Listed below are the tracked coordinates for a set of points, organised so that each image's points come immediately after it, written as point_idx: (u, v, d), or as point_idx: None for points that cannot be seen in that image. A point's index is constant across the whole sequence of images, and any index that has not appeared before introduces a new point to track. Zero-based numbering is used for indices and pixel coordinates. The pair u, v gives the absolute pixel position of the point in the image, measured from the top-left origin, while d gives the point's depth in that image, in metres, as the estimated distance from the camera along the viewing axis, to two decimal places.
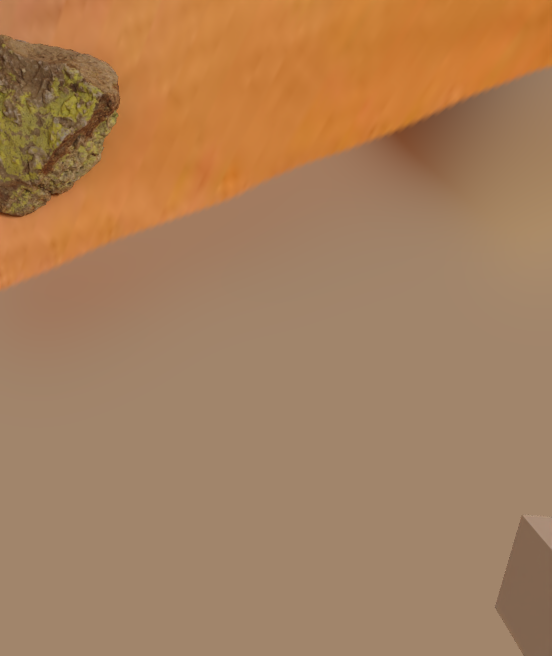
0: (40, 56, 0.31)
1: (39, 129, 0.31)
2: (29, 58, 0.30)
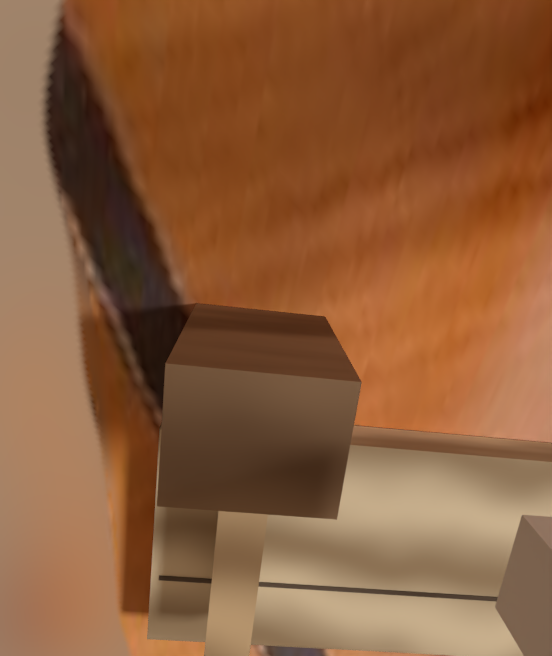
0: None
1: None
2: None
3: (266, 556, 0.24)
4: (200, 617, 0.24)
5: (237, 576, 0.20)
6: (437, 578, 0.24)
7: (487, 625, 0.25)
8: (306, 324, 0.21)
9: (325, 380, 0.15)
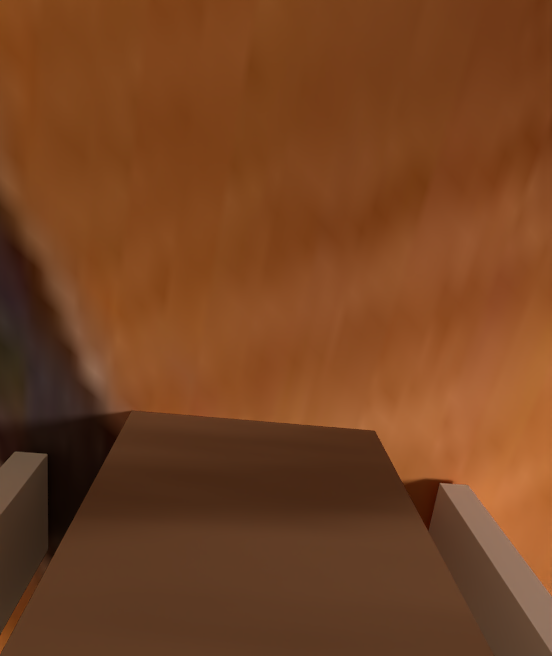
0: None
1: None
2: None
3: None
4: None
5: None
6: None
7: None
8: (346, 465, 0.10)
9: None
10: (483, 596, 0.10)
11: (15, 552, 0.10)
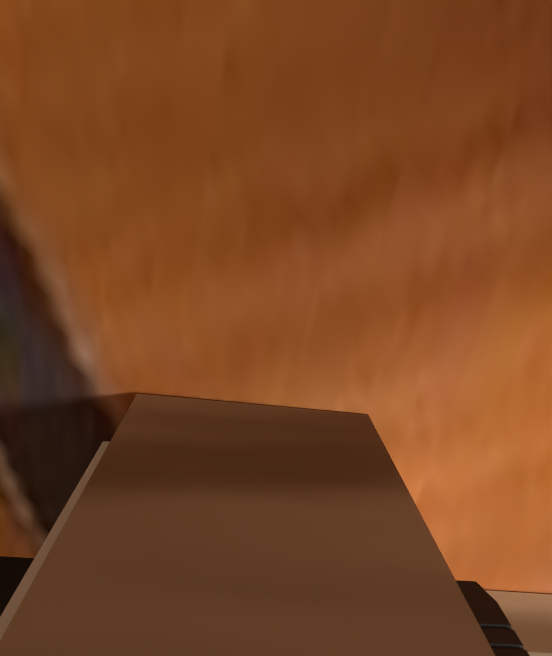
0: None
1: None
2: None
3: None
4: None
5: None
6: None
7: None
8: (340, 445, 0.11)
9: None
10: None
11: None
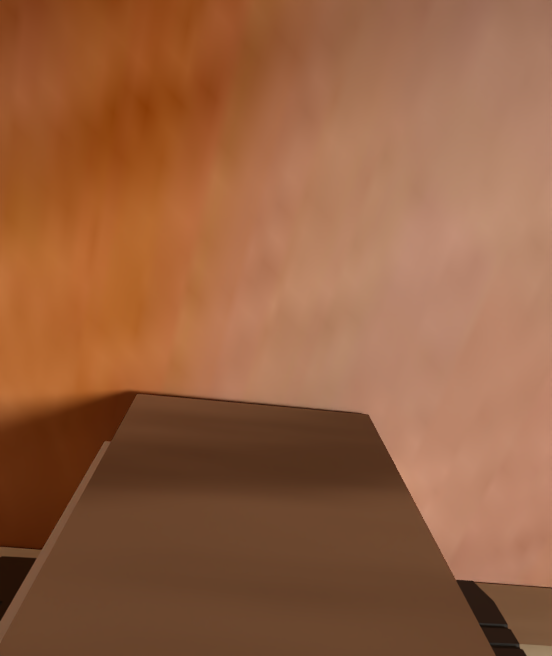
0: None
1: None
2: None
3: None
4: None
5: None
6: None
7: None
8: (340, 445, 0.11)
9: None
10: None
11: None
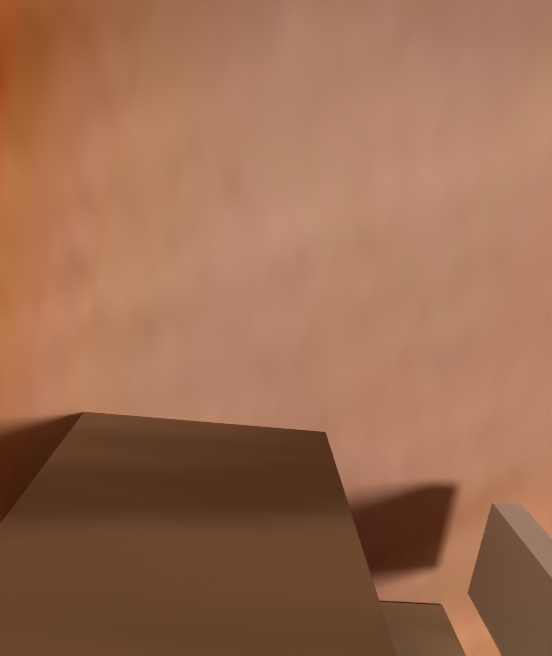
0: None
1: None
2: None
3: None
4: None
5: None
6: None
7: None
8: (289, 466, 0.11)
9: None
10: None
11: None
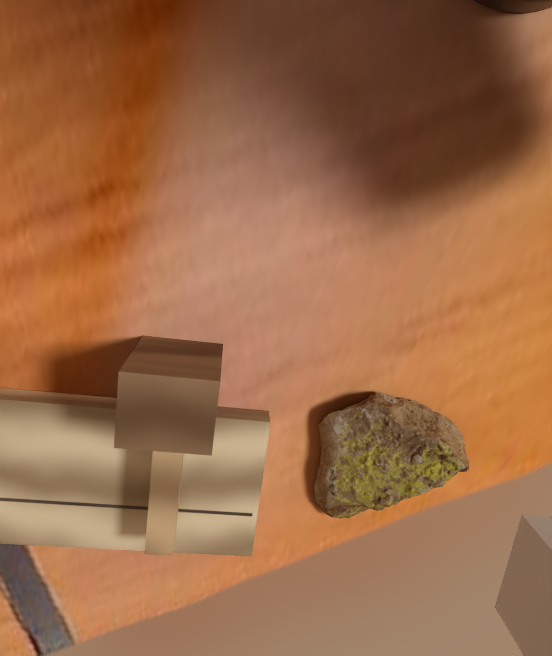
0: (412, 421, 0.37)
1: (400, 479, 0.38)
2: (408, 427, 0.37)
3: None
4: None
5: (163, 499, 0.34)
6: (80, 492, 0.37)
7: (123, 526, 0.38)
8: (207, 349, 0.35)
9: (201, 380, 0.29)
10: None
11: None
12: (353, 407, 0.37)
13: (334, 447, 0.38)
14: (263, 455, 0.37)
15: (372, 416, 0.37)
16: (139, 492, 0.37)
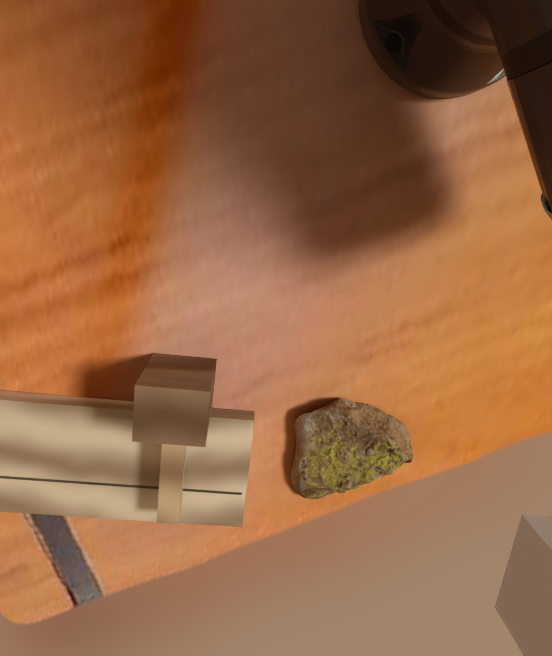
0: (367, 422, 0.47)
1: (357, 467, 0.47)
2: (363, 427, 0.46)
3: (13, 462, 0.46)
4: None
5: (170, 480, 0.44)
6: (106, 475, 0.47)
7: (140, 502, 0.48)
8: (203, 364, 0.45)
9: (196, 391, 0.39)
10: None
11: None
12: (319, 410, 0.46)
13: (304, 441, 0.47)
14: (249, 446, 0.47)
15: (334, 417, 0.46)
16: (152, 475, 0.47)
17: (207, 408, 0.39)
